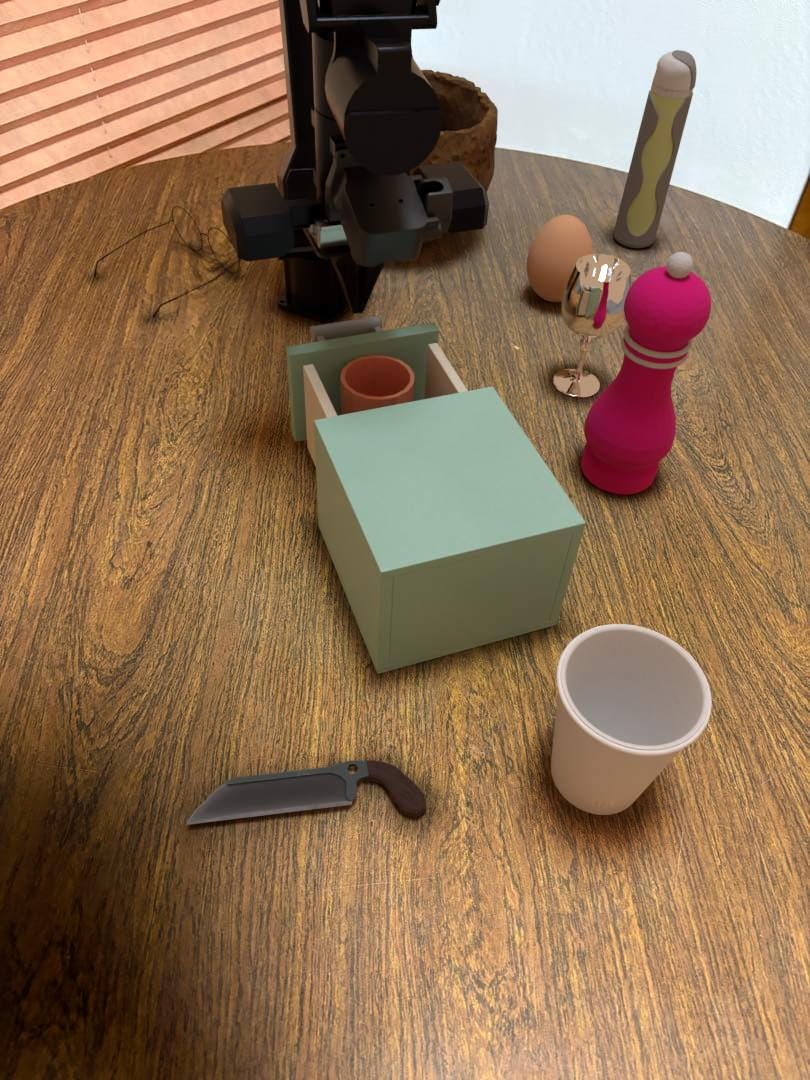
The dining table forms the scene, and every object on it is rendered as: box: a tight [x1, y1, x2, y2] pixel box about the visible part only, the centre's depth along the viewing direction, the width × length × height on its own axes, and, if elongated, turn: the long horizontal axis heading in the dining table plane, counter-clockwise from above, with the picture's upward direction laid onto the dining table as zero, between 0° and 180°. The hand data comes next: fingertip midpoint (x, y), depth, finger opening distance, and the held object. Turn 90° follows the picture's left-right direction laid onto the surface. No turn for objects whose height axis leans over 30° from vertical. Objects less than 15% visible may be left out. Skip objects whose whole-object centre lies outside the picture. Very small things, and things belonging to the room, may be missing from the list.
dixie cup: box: [550, 623, 713, 816], centre depth 50 cm, size 8×8×10 cm
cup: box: [340, 355, 415, 415], centre depth 69 cm, size 6×6×6 cm
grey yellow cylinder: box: [613, 49, 697, 249], centre depth 93 cm, size 5×5×20 cm
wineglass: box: [552, 253, 632, 399], centre depth 77 cm, size 6×6×12 cm
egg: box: [526, 214, 594, 303], centre depth 88 cm, size 7×7×9 cm
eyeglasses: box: [93, 205, 241, 318], centre depth 89 cm, size 11×13×5 cm
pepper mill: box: [580, 251, 712, 496], centre depth 66 cm, size 7×7×20 cm
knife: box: [186, 759, 427, 826], centre depth 51 cm, size 14×4×1 cm, turn 99°
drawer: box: [285, 315, 469, 468], centre depth 69 cm, size 18×12×9 cm
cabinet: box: [314, 386, 587, 675], centre depth 60 cm, size 15×14×11 cm
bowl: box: [409, 69, 499, 244], centre depth 94 cm, size 19×19×15 cm
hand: (356, 310), depth 68 cm, fingers closed
